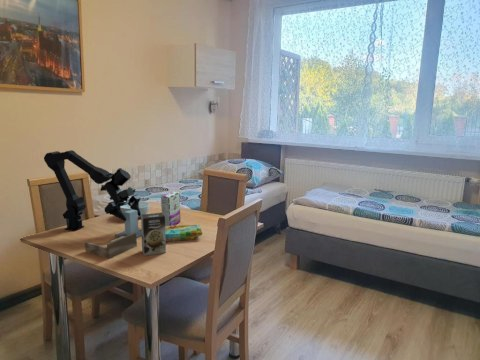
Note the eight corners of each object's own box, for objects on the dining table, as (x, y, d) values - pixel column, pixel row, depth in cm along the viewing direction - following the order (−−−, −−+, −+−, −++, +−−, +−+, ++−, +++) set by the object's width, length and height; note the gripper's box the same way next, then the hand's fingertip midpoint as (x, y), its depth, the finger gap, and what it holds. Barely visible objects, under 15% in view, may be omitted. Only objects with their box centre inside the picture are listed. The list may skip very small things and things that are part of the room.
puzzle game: (157, 225, 170) (199, 222, 175) (157, 234, 171) (199, 231, 176) (157, 233, 159) (202, 230, 164) (157, 243, 160) (202, 240, 165)
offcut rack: (85, 251, 149) (84, 238, 148) (113, 240, 162) (112, 227, 161) (109, 258, 143) (108, 244, 142) (136, 246, 156) (136, 233, 155)
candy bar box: (172, 220, 191) (171, 191, 188) (180, 222, 189) (180, 192, 186) (161, 227, 180) (160, 196, 177) (170, 228, 179) (169, 197, 176)
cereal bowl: (145, 221, 190) (144, 208, 188) (114, 220, 190) (113, 208, 188) (153, 212, 206) (152, 200, 205) (124, 211, 206) (124, 199, 205)
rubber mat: (114, 236, 168) (114, 234, 167) (131, 229, 177) (131, 228, 177) (132, 240, 163) (132, 239, 162) (148, 233, 172) (148, 231, 172)
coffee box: (144, 256, 146) (142, 218, 142) (141, 250, 152) (140, 214, 148) (166, 252, 149) (165, 216, 146) (163, 247, 155) (162, 211, 152)
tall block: (125, 234, 168) (124, 212, 166) (132, 231, 173) (131, 209, 170) (130, 235, 167) (129, 213, 164) (138, 232, 171) (137, 210, 169)
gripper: (107, 185, 158) (126, 213, 156) (137, 178, 175) (155, 203, 172) (96, 200, 164) (114, 227, 161) (126, 192, 180) (143, 216, 177)
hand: (133, 217), depth 167 cm, fingers open, 9 cm apart
